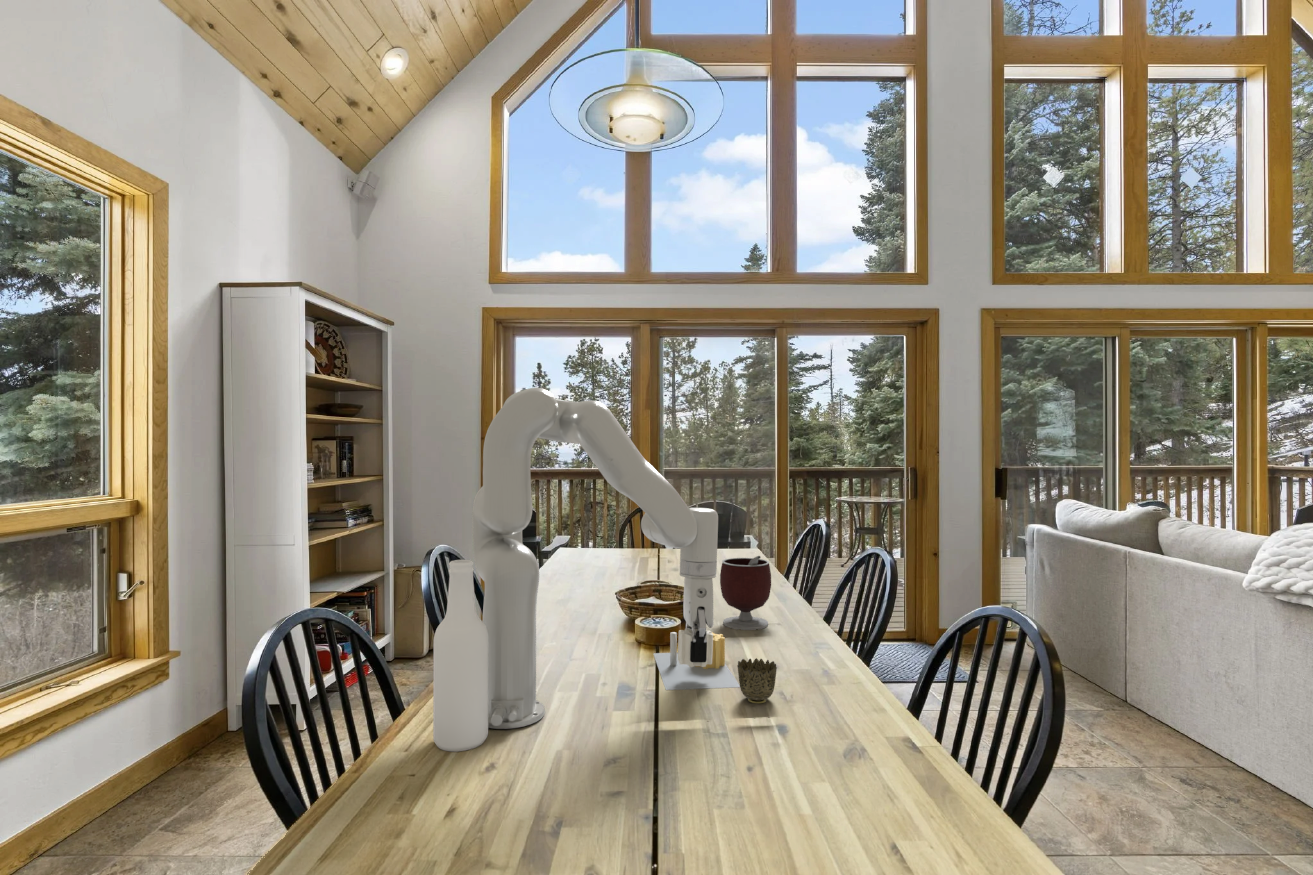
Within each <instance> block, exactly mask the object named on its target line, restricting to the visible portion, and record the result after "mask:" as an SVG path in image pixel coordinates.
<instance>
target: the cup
mask: <svg viewBox="0 0 1313 875" xmlns="http://www.w3.org/2000/svg"><path fill="white" fill-rule="evenodd" d="M736 666H737V673H738V674H737V675H738V676H737V677H738V683H739V685H740V687H739V688H740V690H741V693H742V694H743V696H744V697H745V698H747V701H748V702H750V703H752V704H763V703H766V702H767V699H769V698H770V697H771V696H772V695H773V693H774V690H775V686H776V679H777V668H778V667H777V663H775V661H774V660H772V661H771V662H770V661H769V659H767V660H766V661H764V660H763V659H762V658H760V659H758V658H757V657H756V658H754V660H753V661H752V659H751V658H749V659H748V660H746V659H745V658H742V659H741V661H740V660H738V661H737V665H736Z"/></svg>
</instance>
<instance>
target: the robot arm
mask: <svg viewBox="0 0 1313 875" xmlns="http://www.w3.org/2000/svg"><path fill="white" fill-rule="evenodd" d="M537 439H542V440H548V441H554V442H561V443H568V444H575V445H576V444H577V445H578V444H579V445H580V447H581V448H582V450H583V451H584V452H585V453H586V454H587V456H588V457H589V458H590V460H591V461H592V463H593V464H594V465H595V467H596V468H597V470H598V471H599V473H600V474H601V475H602V477H603V478H604V479H605V481H606V482H607V483H608V484H609V485H610V486H611V487H612V488H613V489H615V491H617V492H619V493H620V494H622V495H624V496H625V497H626V498H628V499H629V500H631V501H632V502H634V503H635V504H636V505H637V506H638V507H639V508H640V509H641V510H642V511H643V513H644V514H643V516H642V518H641V522H640V528H641V531H642V533H643V534H644V536H645V537H646V538H647V539H648V540H649V541H651V542H654V543H657V544H659V545H663V546H666V547H669V548H673V549H680V552H679V553H680V554H679V576H680V577H682V578H684V581H683V583H684V584H683V603H682V604H683V607H682V608H683V609H682V610H683V619H684V620H685V629H686V628H690V629H692V641H691V647H690V661H691V662H706V657H707V634H706V631H707V626H708V628H709V629H712V628H713V627H714V583H713V582H714V580H713V579H716V578H717V567H718V566H717V562H718V541H719V540H718V539H719V538H718V534H719V533H718V532H719V515H718V512H717V510H714V509H713V508H707V507H689V506H688V505H687V503H686V502H685V501H684V499H683V498H682V496H681V495H680V493H679V492H678V491H677V489H676V488H675V487H674V486H673V485H672V484H671V483H670V482H669V481H668V480H667V479H666V478H665V476H663V475H662V474H661V473H660V472H659V471H658V470H657V469H656V468H655V467H654V466H653V465H652V464H651V463H650V462H649V461H648V460H646V459H645V457H644V456H643V455H642V453H641V452H640V451H639V449H638V448H637V446H636V445H635V443H634V442H633V441H632V439H631V438H630V436H629V435H628V434H627V433H626V431H625V429H624V428H623V427H622V426H621V424H620V422H619V421H618V420H617V418H616V417H615V415H614V414H613V412H612V411H611V409H610V408H608V407H607V406H606V405H605V404H604V403H602V402H601V401H597V400H584V401H583V400H582V401H571V400H563V399H560V398H556V397H555V395H554V394H553V393H552V392H550V391H549V390H547V389H544V388H542V387H529V388H526V389H522V390H520V391H517V392H515V393H512V394H511V395H510V396H509V397H507V399H506V400H505V401H504V403H503V406H501V408H500V409H499V411H498V412H497V413H496V414H495V416H494V418H492V420H491V422H490V425H489V426H488V428H487V431H486V434H485V438H484V442H483V449H482V452H483V453H482V486H481V487H480V488H479V490H478V491H477V493H476V494H475V496H474V499H473V504H472V514H471V515H472V540H473V542H472V543H473V545H472V546H473V560H474V561H473V562H474V566H475V570H476V573H477V574H478V576H479V577H480V578H481V579H482V581H483V582H484V596H483V609H482V621H483V623H484V624H485V626H486V628H487V632H488V729H495V730H508V729H510V730H511V729H519V728H523V727H526V726H530V725H532V724H535V723H537V722H539V721H540V720H541V719H542V718H543V717H544V716H545V712H546V709H545V708H546V707H545V705H544V704H543V703H542V702H541V701H539V700H537V605H538V604H537V602H538V593H539V586H540V585H539V584H540V567H539V563H538V560H537V557H536V555H535V554H534V552H532V550H531V549H530V548H529V547H527V546H526V545H524V543H523V530H525V529H526V528H527V527H528V525H529V524H530V522H531V519H532V515H533V500H532V499H533V498H532V480H531V479H532V478H531V463H532V462H531V461H532V459H531V458H532V450H533V447H534V444H535V442H536V441H537ZM695 630H698V631H697V632H696V633H695Z"/></svg>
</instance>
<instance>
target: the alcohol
mask: <svg viewBox="0 0 1313 875" xmlns="http://www.w3.org/2000/svg"><path fill="white" fill-rule="evenodd" d="M474 565H475V561H473V560H472V559H455V560H451V561H450V562H448V566H449V569H448V573H449V580H448V593H447V605H446V612H445V616H444V618H443V620H442V621H441V622H440V623H439V625H438V626H437V628H436V630H435V633H434V637H433V699H432V700H433V703H432V704H433V714H432V715H433V718H432V721H433V735H432V736H433V738H432V740H433V742H434V743H435V745H436V747H437V748H438V749H440V750H442V751H445V752H456V753H457V752H465V751H469V750H473V749H475V748H479V747H481V745H482V744H483V743H484V742H485V741H486V739H487V738H488V735H489V728H488V632H487V628H486V626H485V624H484V623H483V619H481V618H480V617H479V615H478V613H477V609H476V598H475V596H476V594H475V584H474V571H475V570H474Z"/></svg>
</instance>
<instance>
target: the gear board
mask: <svg viewBox="0 0 1313 875" xmlns="http://www.w3.org/2000/svg"><path fill="white" fill-rule="evenodd" d="M712 632H713V631H711V634H712ZM669 635H670V636H669V639H670V641H669V642H670V643H669V646H670V647H669V650H670V651H669V652H655V653H653V657H654V659H655V663H656V666H657V668H658V671H659V674H660V677H661V680H662V683H663V686H664V688H665V691H678V690H679V691H680V690H682V691H683V690H702V689H703V690H706V689H729V688H731V689H732V688H734V689H735V688H740V683H739V681H738V680H737V678H736V677H735V676H734V674H733V673H732V671H731V670H730V669H729V667H728V664H726V663H725V665H724V666H719V668H718V669H715V668H708V669H703V667H695V666H694V667H689V665H686V664H679V661H678V646H677V645H678V640H677V638H678V636H677V635H678V633H677V632H675V631H672V632H670V634H669Z"/></svg>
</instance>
